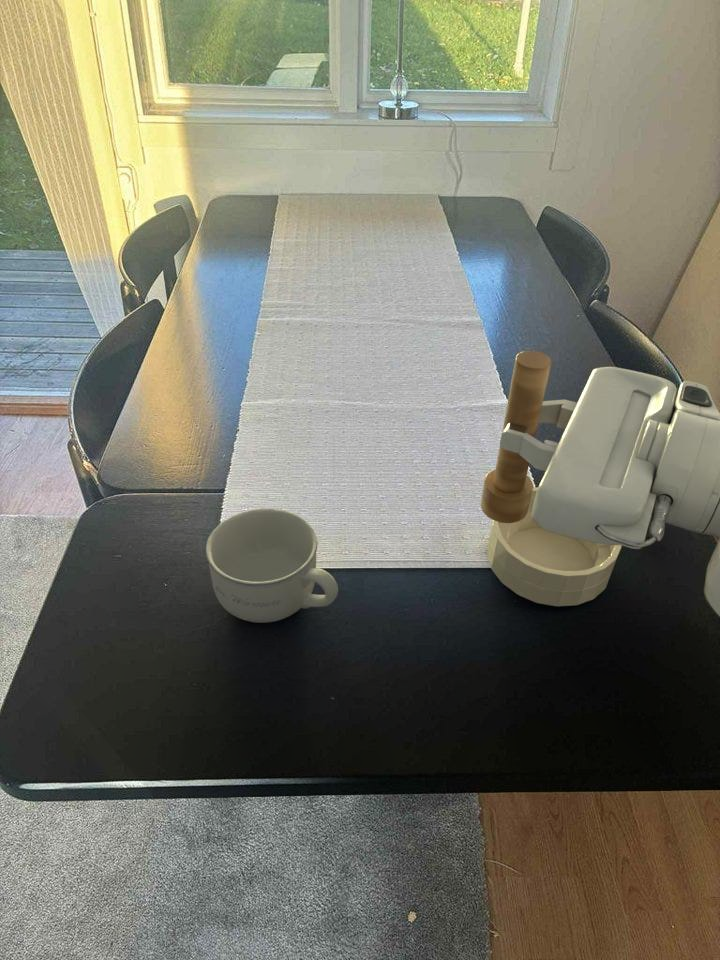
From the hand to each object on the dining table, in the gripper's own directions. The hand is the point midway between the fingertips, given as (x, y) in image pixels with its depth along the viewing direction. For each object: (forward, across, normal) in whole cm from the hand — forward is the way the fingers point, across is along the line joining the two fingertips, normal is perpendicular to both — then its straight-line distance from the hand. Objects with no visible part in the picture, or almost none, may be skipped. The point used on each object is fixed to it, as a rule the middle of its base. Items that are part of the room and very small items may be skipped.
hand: (510, 421), depth 60 cm
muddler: (-1, 0, -10) cm, 10 cm away
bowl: (-6, +7, -22) cm, 24 cm away
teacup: (+18, -11, -22) cm, 31 cm away
